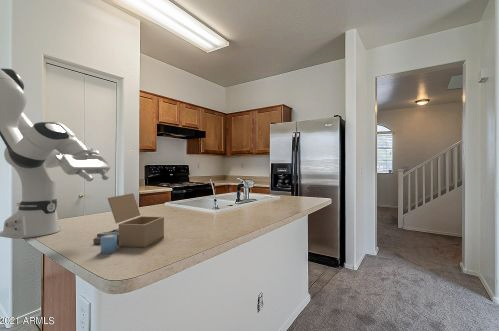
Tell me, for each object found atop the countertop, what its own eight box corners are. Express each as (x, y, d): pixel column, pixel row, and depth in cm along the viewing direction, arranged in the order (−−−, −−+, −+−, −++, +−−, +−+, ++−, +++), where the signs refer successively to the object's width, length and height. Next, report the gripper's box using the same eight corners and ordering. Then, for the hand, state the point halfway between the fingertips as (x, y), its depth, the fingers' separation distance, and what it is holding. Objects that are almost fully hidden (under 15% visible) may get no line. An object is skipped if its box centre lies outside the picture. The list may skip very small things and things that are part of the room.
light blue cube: (97, 253, 82) (97, 238, 82) (107, 248, 87) (107, 234, 87) (110, 254, 82) (110, 238, 82) (120, 249, 86) (120, 234, 86)
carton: (118, 246, 89) (118, 224, 89) (141, 235, 103) (141, 216, 103) (144, 247, 88) (144, 224, 88) (163, 236, 102) (163, 216, 102)
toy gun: (117, 225, 116) (149, 222, 115) (118, 232, 116) (149, 229, 115) (76, 240, 91) (116, 237, 90) (77, 248, 90) (117, 246, 89)
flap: (117, 223, 89) (115, 223, 89) (140, 215, 103) (139, 215, 104) (108, 197, 90) (107, 198, 90) (133, 193, 104) (131, 193, 104)
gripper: (58, 147, 89) (82, 174, 88) (100, 150, 109) (121, 173, 108) (47, 160, 90) (71, 187, 88) (91, 161, 110) (111, 183, 108)
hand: (99, 179), depth 98 cm, fingers open, 7 cm apart
